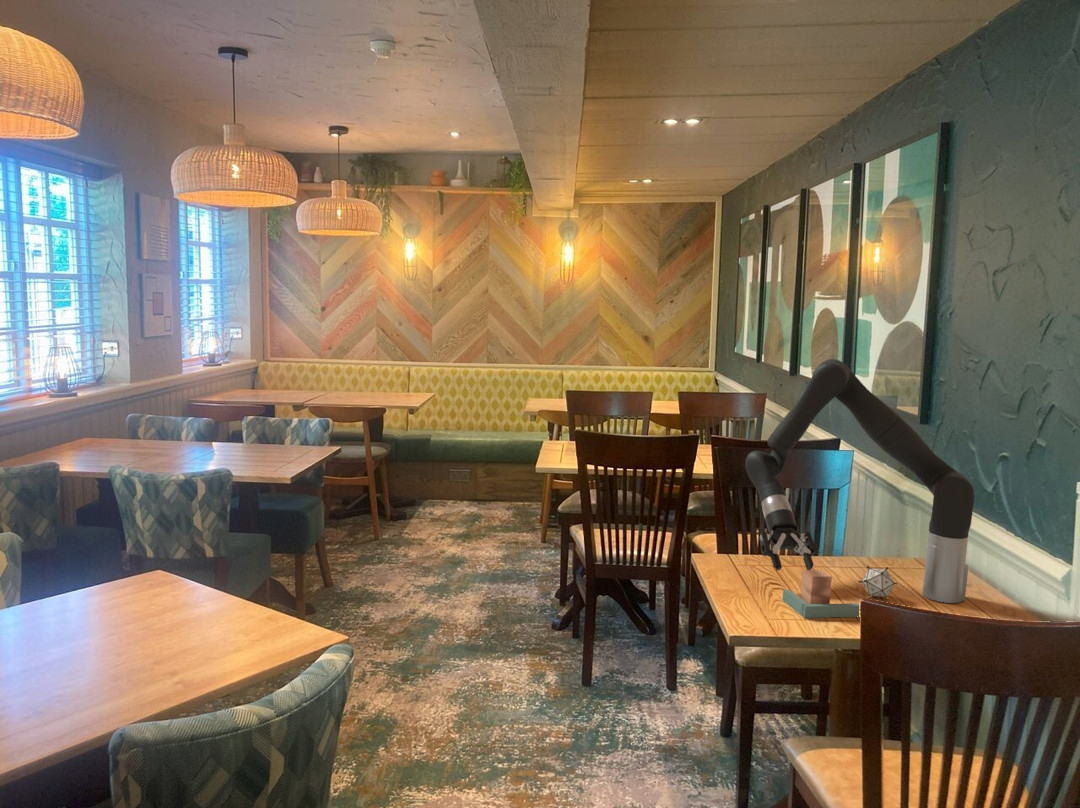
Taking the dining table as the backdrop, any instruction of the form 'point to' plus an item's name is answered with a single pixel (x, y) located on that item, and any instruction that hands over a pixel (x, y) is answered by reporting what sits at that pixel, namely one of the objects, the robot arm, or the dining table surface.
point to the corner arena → (819, 607)
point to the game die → (877, 582)
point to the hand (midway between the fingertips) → (794, 569)
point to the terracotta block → (816, 587)
